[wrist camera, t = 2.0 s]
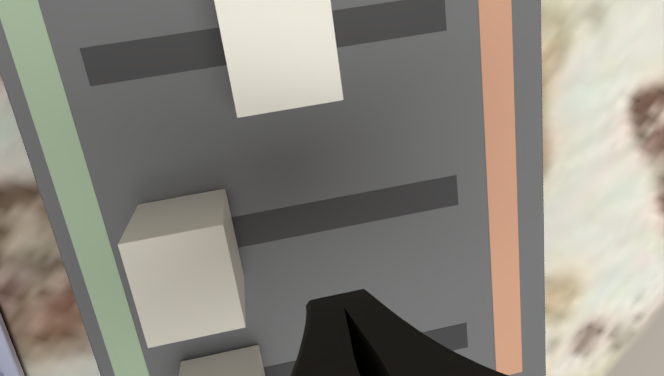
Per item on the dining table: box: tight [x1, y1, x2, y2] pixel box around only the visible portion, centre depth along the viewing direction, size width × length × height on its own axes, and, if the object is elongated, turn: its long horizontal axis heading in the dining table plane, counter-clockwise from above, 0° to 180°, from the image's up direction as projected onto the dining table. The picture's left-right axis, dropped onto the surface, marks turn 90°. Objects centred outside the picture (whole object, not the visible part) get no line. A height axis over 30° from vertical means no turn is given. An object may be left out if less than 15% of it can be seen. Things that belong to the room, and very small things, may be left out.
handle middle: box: [118, 189, 246, 348], centre depth 18 cm, size 3×4×4 cm
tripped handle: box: [214, 0, 343, 118], centre depth 16 cm, size 3×4×4 cm
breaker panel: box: [0, 0, 546, 376], centre depth 21 cm, size 18×20×2 cm
